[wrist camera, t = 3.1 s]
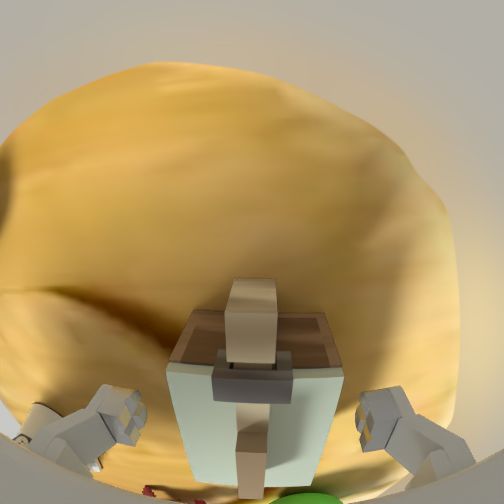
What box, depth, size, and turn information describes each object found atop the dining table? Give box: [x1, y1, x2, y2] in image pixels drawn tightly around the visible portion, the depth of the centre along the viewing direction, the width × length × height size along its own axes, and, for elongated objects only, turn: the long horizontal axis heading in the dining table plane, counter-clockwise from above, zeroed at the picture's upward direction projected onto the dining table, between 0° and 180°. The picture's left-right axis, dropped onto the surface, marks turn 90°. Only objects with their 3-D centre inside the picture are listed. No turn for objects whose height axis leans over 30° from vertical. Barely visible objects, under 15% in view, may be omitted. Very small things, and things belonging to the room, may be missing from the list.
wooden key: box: [225, 278, 278, 433], centre depth 17 cm, size 13×2×4 cm, turn 0°
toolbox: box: [169, 310, 342, 404], centre depth 26 cm, size 22×14×13 cm, turn 0°
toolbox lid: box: [165, 362, 344, 499], centre depth 22 cm, size 19×14×6 cm
